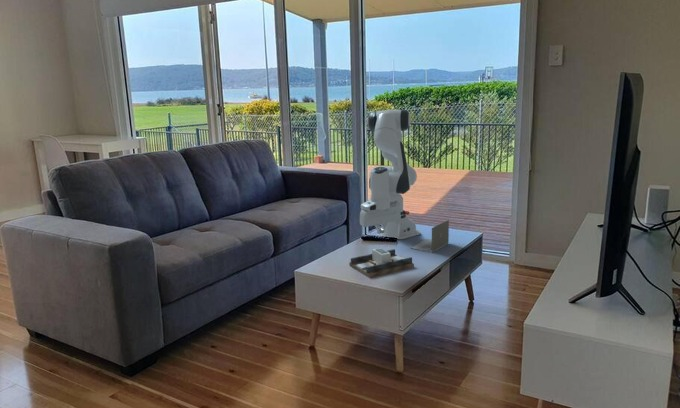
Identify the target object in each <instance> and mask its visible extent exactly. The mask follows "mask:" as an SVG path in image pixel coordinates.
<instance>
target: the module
mask: <svg viewBox="0 0 680 408" xmlns="http://www.w3.org/2000/svg"><path fill="white" fill-rule="evenodd" d="M371 251H372V252H371V254H372V260H374V261H376V262H377V263H379V264H382V263H387V262H391V257H390V253H389V252H387V251H388V250H385V249H384V248H381V247H379V248H373V249H372V250H371Z"/></svg>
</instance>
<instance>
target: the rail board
mask: <svg viewBox="0 0 680 408" xmlns="http://www.w3.org/2000/svg"><path fill="white" fill-rule="evenodd" d="M386 251H387V252H389V253H390V257H391V262H387V263H382V264H379V263H377V262H376V261H374V260H372V253H370V254H365V255H364V254H363V255H360V256H355V257H351V258H350V262H349V263H348V264H349V266H350V267H352V268H353V269H354V270H357V272H360V273H362V274H363V276H364V275H365V276H366V277H368V278H372V277H376V276H377V277H378V276H381V275H385V274H390V273H394V272H398V271H402V270H406V269H407V270H408V269H411V268H414V267H415V263H413V257H412V256H410V257H404V256H402V255H397V254H396V249H395V248H394V249H389V250H386Z"/></svg>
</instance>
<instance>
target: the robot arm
mask: <svg viewBox="0 0 680 408" xmlns="http://www.w3.org/2000/svg"><path fill="white" fill-rule="evenodd" d="M366 122H367V126H368V129H369V130H370V131H371V132H374V133H373V139H374V141H373V142H374V145H375V146H376V148H377V149H378V150H380V151H381V155H382V158H384V159H385V160H387V161H389V162H390V163H391V164H392V165H380V166H379V165H378V166H375V167H372V169H371V170H370V171H369V175H368V176H369V179H368V188H369V189H370V193H371V194H370V199H368V200H367V201H365V202H362V203H361V204H360V209H361V210H360V213H359V224H360V226H361V227H363V228H368V227H373V226H374V227H375V229H376V234H379V235H380V236H381V235H382V236H387V237H395V238H397V239H396V240H405V239H409V238H412V237H415V236H418V235H421V231H420V230H418V229H417V225H416V223H415V222H414V221H413V220H412V219H410V218H409V217H407V216H409V215H410V211H409V210H404V197H403V195H404V194H406V193H408V191H410V190H411V186H413V185H414V184H415V183H416V182H417V179H418V176H417V171H416V170H415V168H414V167H413V166H411V165H410V164H409V163H408V161H407V156H406V151H405V147H404V144H403V135H402V134H403V133H402V132H405V131H407V130H409V128H410V125H411V123H412V117H411V115H410V112H409V111H408V110H405V109H386V110H385V109H383V110H378V111H377V110H375V111H371V112H369V114H368V116H367V120H366ZM381 225H382V226H381ZM380 227H381V228H380ZM382 236H381V237H382Z"/></svg>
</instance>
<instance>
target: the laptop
mask: <svg viewBox="0 0 680 408" xmlns="http://www.w3.org/2000/svg"><path fill="white" fill-rule="evenodd" d="M449 221H450V220H449V219H448V220H445V221H443V222H442V223H440V224H438V225H435V226H433V227H432V228H431V239H430V238H426V239H424V240H423V241H421V242H419V243H417V244H414V245H413V246H411V247H410V249H414V250H417V251H422V252H426V253H431V254H432V253H434V252H436V251H438V250H439V249H441V248H443V247H445V246H447V245H448V244H449V241H450V240H449V236H450V235H449V232H450V230H449V228H450V226H449V225H450V224H449V223H450V222H449Z"/></svg>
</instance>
